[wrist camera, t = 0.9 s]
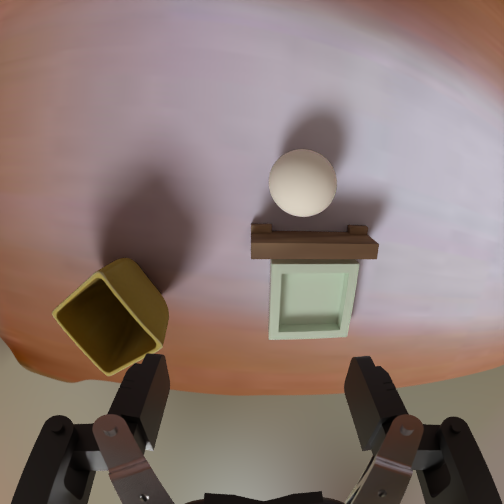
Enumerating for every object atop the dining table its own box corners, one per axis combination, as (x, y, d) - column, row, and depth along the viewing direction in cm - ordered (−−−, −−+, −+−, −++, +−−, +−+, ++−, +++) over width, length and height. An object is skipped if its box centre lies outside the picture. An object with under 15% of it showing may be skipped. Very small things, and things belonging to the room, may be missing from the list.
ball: (267, 148, 27) (271, 147, 22) (328, 150, 27) (347, 151, 22) (266, 208, 29) (270, 223, 24) (325, 210, 29) (342, 225, 24)
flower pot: (88, 276, 32) (49, 314, 24) (135, 237, 30) (98, 269, 22) (133, 331, 34) (107, 378, 26) (184, 299, 33) (165, 347, 24)
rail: (251, 223, 30) (251, 234, 26) (365, 225, 30) (379, 236, 26) (251, 251, 31) (251, 266, 27) (362, 252, 31) (375, 266, 27)
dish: (270, 256, 31) (271, 264, 29) (353, 256, 31) (359, 264, 29) (267, 329, 34) (268, 339, 32) (342, 326, 34) (346, 336, 32)
